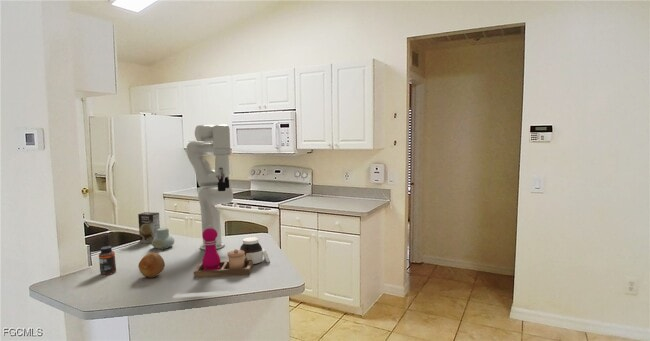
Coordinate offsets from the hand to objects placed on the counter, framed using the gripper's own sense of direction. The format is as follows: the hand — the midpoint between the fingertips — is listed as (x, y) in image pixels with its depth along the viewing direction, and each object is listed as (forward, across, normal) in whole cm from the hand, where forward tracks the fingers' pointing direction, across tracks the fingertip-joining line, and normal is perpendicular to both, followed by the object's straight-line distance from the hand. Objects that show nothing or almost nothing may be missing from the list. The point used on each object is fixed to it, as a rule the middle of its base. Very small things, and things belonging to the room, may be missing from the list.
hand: (223, 189), depth 171 cm
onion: (+34, +16, -28) cm, 46 cm away
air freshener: (+34, -27, -38) cm, 57 cm away
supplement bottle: (+34, +9, -49) cm, 60 cm away
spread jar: (+34, +7, +14) cm, 37 cm away
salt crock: (+32, +18, +7) cm, 37 cm away
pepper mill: (+32, +18, -3) cm, 37 cm away
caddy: (+33, +18, +2) cm, 38 cm away
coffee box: (+34, -41, -50) cm, 73 cm away
